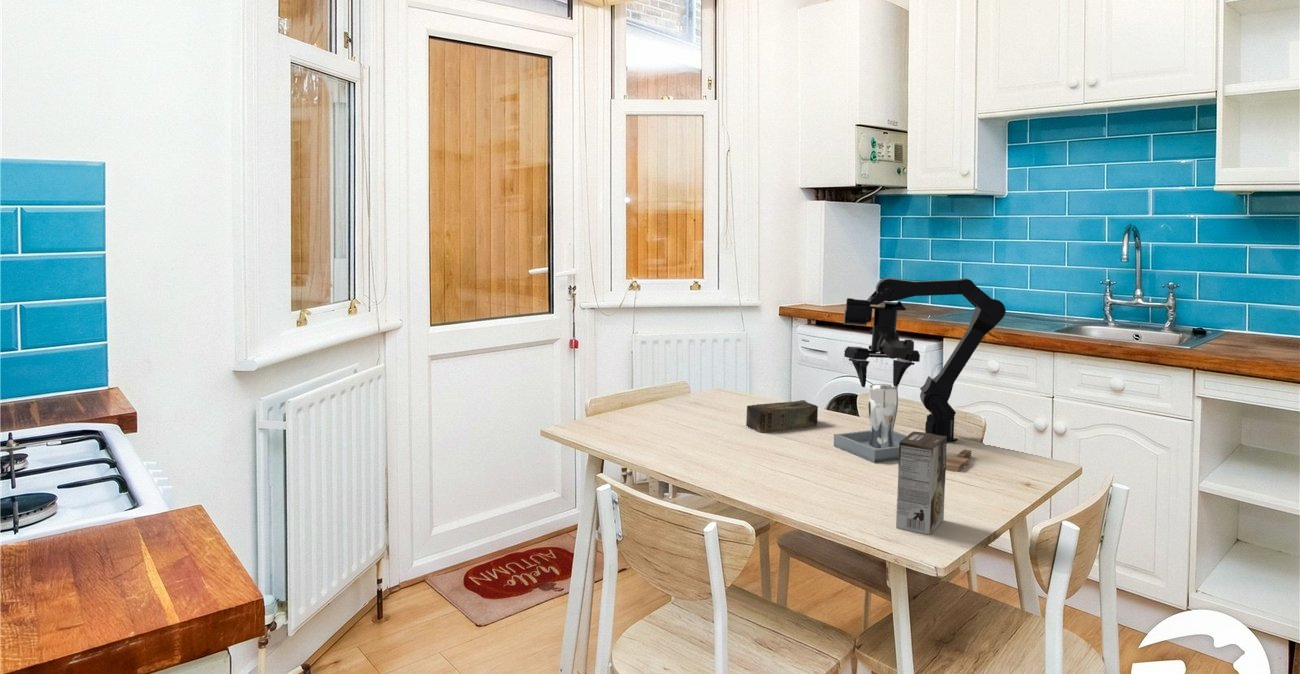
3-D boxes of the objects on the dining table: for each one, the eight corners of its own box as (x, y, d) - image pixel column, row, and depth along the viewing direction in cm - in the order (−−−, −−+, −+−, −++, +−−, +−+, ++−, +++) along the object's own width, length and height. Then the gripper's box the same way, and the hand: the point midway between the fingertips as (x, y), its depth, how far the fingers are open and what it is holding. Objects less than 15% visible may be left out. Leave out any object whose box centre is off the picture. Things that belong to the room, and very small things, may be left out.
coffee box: (909, 513, 150) (913, 430, 148) (944, 520, 146) (948, 435, 144) (894, 528, 143) (897, 440, 141) (930, 535, 139) (934, 446, 137)
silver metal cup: (891, 452, 189) (893, 390, 187) (862, 448, 193) (864, 387, 191) (899, 445, 195) (902, 385, 193) (871, 441, 199) (873, 382, 197)
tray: (885, 439, 204) (886, 428, 203) (929, 455, 189) (929, 443, 189) (833, 446, 198) (834, 434, 197) (874, 463, 183) (874, 450, 183)
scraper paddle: (959, 455, 190) (959, 448, 189) (976, 457, 187) (976, 451, 187) (939, 468, 179) (940, 461, 178) (958, 471, 176) (958, 464, 176)
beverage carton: (819, 426, 219) (819, 403, 218) (760, 434, 211) (760, 410, 210) (801, 420, 226) (802, 397, 225) (744, 427, 218) (744, 404, 217)
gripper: (867, 328, 193) (862, 391, 194) (935, 331, 197) (929, 393, 199) (845, 324, 204) (840, 384, 205) (910, 327, 208) (905, 386, 209)
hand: (879, 387), depth 204 cm, fingers open, 9 cm apart
